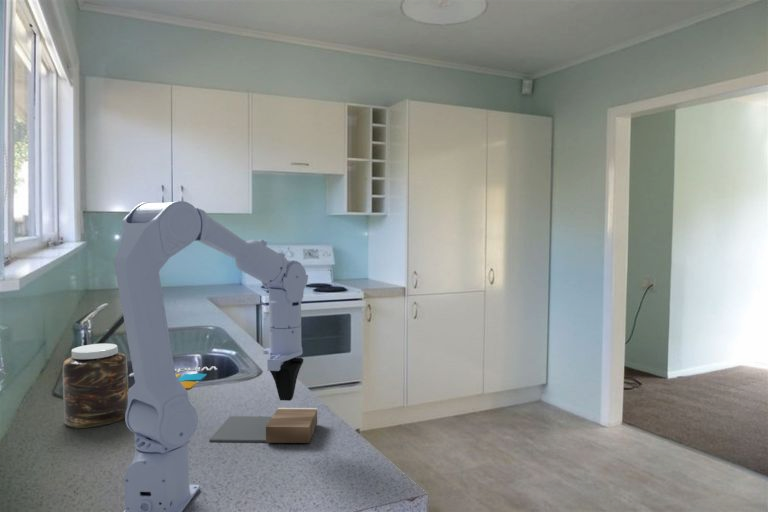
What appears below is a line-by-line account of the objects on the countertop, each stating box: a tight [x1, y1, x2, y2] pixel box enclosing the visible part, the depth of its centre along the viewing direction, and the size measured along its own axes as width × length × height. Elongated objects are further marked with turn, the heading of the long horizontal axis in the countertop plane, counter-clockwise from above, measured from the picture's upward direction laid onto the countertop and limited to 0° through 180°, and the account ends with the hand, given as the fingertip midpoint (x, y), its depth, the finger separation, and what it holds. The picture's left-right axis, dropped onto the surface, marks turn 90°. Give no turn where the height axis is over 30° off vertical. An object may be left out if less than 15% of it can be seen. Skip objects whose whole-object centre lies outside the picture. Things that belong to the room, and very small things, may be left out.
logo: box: [128, 365, 218, 391], centre depth 140 cm, size 23×1×20 cm
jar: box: [62, 343, 129, 429], centre depth 113 cm, size 12×12×15 cm
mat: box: [209, 415, 273, 443], centre depth 107 cm, size 12×18×1 cm, turn 88°
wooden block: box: [265, 407, 319, 444], centre depth 104 cm, size 3×8×10 cm
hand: (286, 399), depth 99 cm, fingers closed
